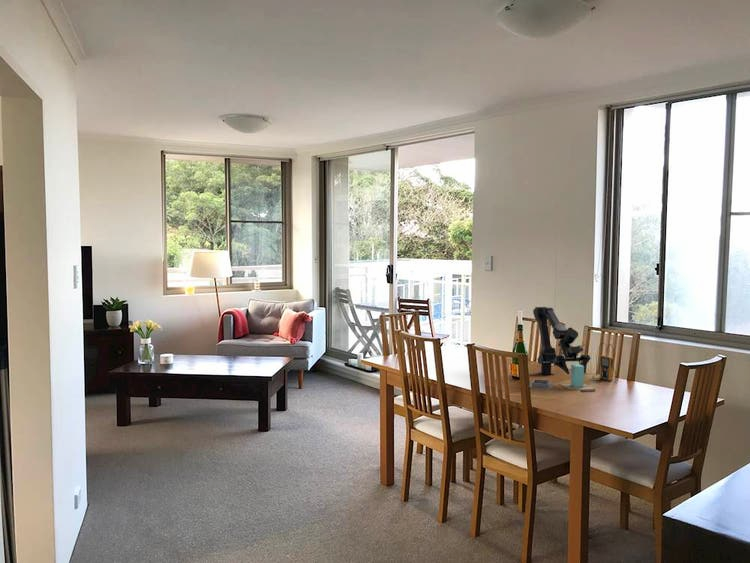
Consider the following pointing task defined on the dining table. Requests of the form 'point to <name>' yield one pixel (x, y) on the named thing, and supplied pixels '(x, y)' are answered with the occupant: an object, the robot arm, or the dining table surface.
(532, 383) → the case base
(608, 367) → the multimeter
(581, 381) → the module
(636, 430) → the dining table surface
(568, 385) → the board
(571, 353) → the robot arm
